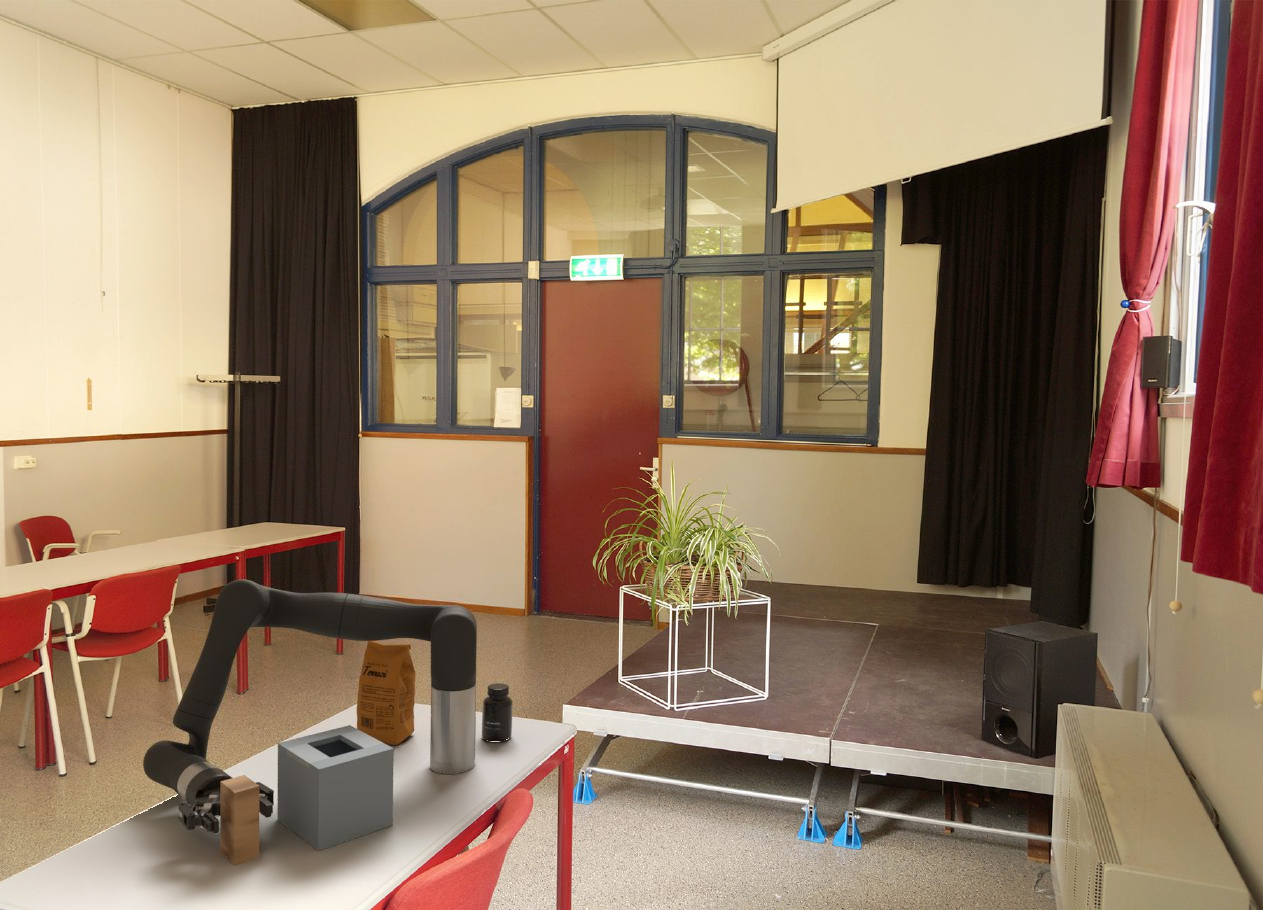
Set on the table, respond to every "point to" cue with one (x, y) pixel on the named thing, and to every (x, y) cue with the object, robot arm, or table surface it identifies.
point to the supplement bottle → (497, 713)
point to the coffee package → (386, 693)
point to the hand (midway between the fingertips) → (243, 819)
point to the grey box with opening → (335, 786)
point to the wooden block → (239, 819)
